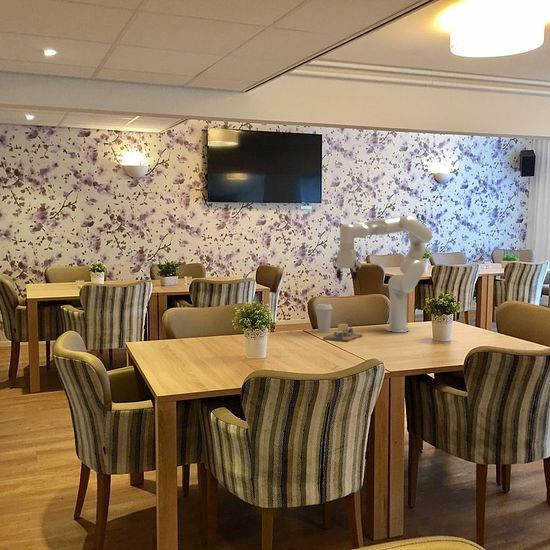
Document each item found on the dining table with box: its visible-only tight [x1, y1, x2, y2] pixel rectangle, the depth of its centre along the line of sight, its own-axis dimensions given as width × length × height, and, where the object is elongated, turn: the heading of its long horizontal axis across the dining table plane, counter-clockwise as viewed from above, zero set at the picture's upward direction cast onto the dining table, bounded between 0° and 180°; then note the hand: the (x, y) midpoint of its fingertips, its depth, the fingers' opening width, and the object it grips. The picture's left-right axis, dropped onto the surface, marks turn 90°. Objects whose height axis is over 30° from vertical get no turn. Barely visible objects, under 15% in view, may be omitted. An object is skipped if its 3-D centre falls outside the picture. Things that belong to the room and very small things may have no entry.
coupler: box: [337, 323, 349, 337], centre depth 329 cm, size 4×5×6 cm
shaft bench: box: [322, 326, 363, 343], centre depth 329 cm, size 18×14×4 cm
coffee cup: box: [315, 303, 333, 333], centre depth 349 cm, size 10×10×15 cm
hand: (346, 278), depth 339 cm, fingers open, 9 cm apart
